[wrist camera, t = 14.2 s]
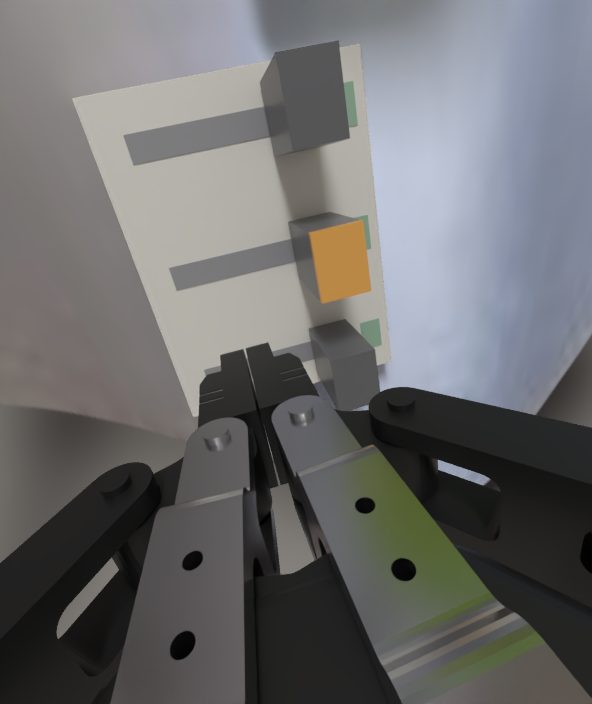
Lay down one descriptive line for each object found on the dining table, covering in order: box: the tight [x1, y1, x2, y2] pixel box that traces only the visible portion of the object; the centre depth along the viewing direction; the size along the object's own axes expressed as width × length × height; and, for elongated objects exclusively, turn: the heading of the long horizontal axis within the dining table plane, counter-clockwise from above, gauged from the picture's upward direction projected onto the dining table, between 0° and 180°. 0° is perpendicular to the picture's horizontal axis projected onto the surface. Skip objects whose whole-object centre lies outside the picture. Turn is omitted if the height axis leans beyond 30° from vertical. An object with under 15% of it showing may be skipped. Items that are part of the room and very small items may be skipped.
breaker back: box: [308, 319, 380, 411], centre depth 28 cm, size 3×4×6 cm
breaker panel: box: [72, 43, 391, 417], centre depth 28 cm, size 17×22×2 cm
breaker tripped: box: [288, 212, 371, 304], centre depth 24 cm, size 3×4×6 cm
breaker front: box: [260, 41, 350, 157], centre depth 21 cm, size 3×4×6 cm
